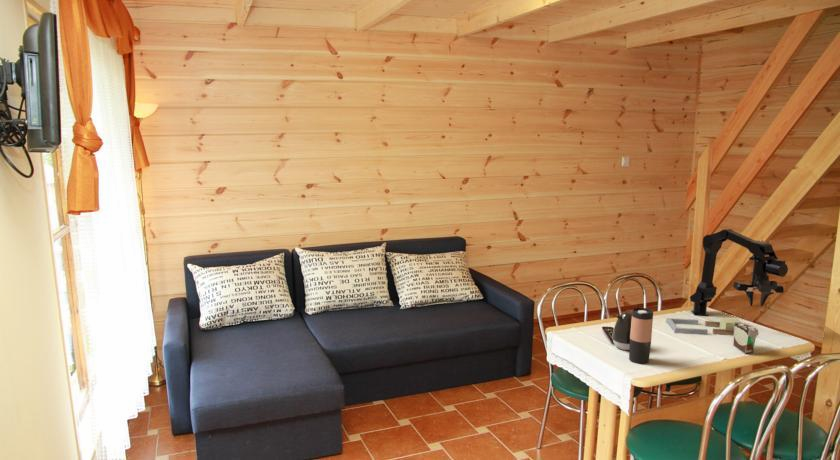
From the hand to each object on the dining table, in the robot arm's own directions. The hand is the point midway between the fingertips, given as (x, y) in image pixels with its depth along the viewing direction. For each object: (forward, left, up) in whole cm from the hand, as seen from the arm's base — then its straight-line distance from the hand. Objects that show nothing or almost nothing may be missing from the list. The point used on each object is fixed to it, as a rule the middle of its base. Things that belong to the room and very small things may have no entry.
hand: (756, 306), depth 259 cm
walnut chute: (0, -10, -12) cm, 16 cm away
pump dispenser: (+31, -60, -12) cm, 69 cm away
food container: (+24, -11, -12) cm, 29 cm away
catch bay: (0, -27, -12) cm, 30 cm away
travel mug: (+44, -57, -12) cm, 73 cm away
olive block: (0, -9, -12) cm, 15 cm away
